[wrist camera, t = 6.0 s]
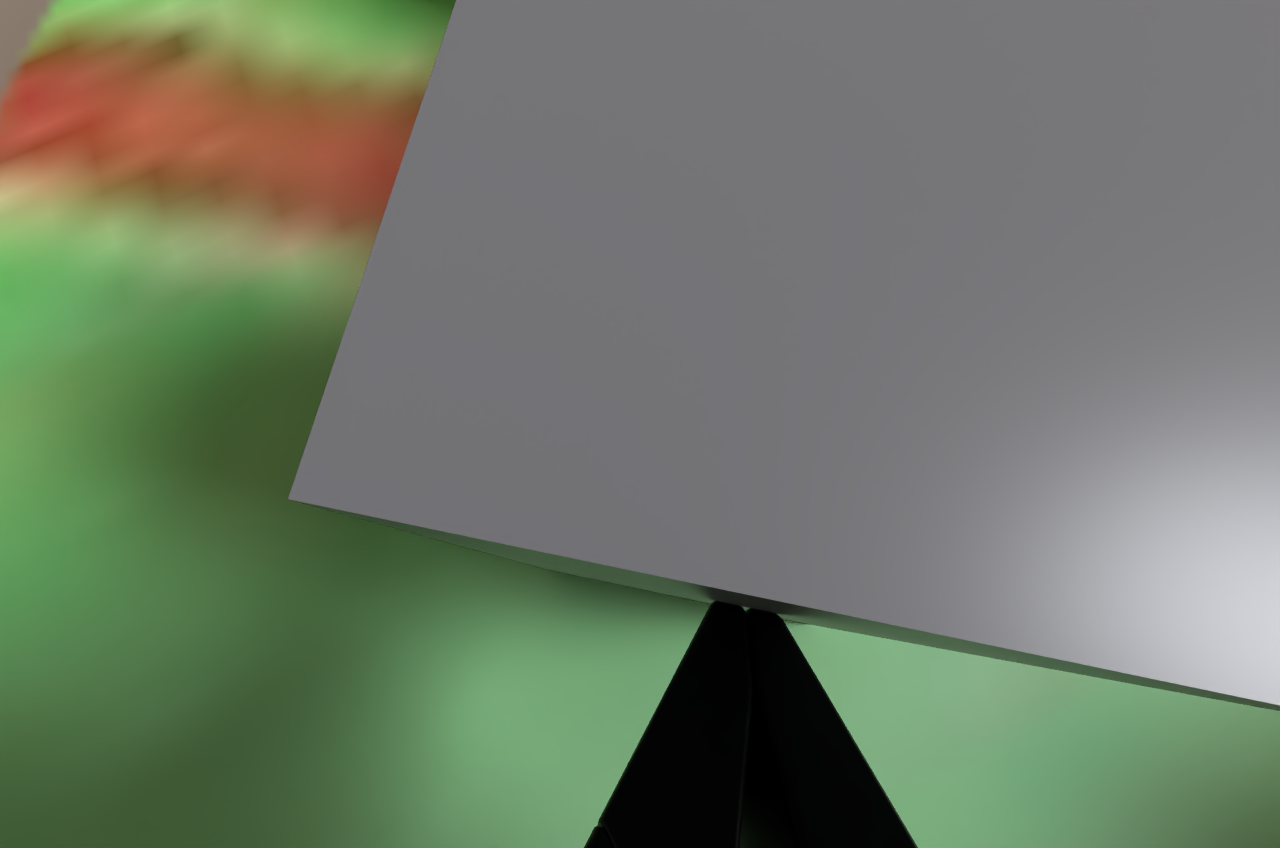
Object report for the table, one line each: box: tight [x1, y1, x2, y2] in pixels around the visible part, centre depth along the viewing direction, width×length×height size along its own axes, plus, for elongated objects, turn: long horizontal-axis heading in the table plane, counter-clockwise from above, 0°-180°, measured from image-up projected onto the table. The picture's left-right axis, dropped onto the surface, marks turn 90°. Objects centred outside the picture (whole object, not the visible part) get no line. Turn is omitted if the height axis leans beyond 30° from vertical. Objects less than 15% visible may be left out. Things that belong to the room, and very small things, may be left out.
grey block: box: [288, 0, 1280, 711], centre depth 11 cm, size 14×6×12 cm, turn 169°
